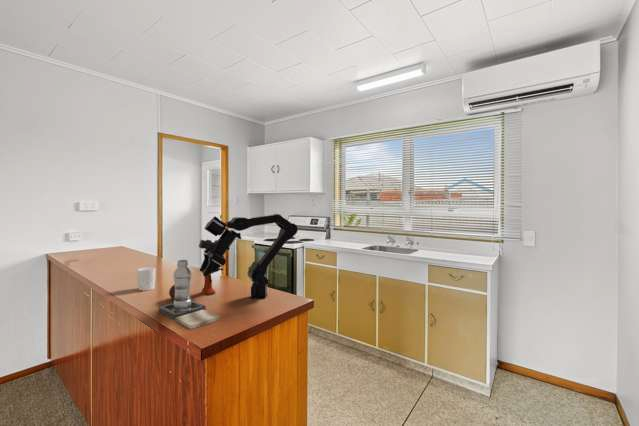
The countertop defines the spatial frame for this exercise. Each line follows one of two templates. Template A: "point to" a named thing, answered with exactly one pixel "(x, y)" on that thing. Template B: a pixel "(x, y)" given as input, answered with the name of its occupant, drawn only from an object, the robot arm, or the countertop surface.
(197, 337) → the countertop surface
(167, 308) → the collar
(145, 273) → the white cup
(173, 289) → the potato
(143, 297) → the countertop surface
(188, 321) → the board
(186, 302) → the plastic bottle
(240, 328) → the countertop surface
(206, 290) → the toy drill
